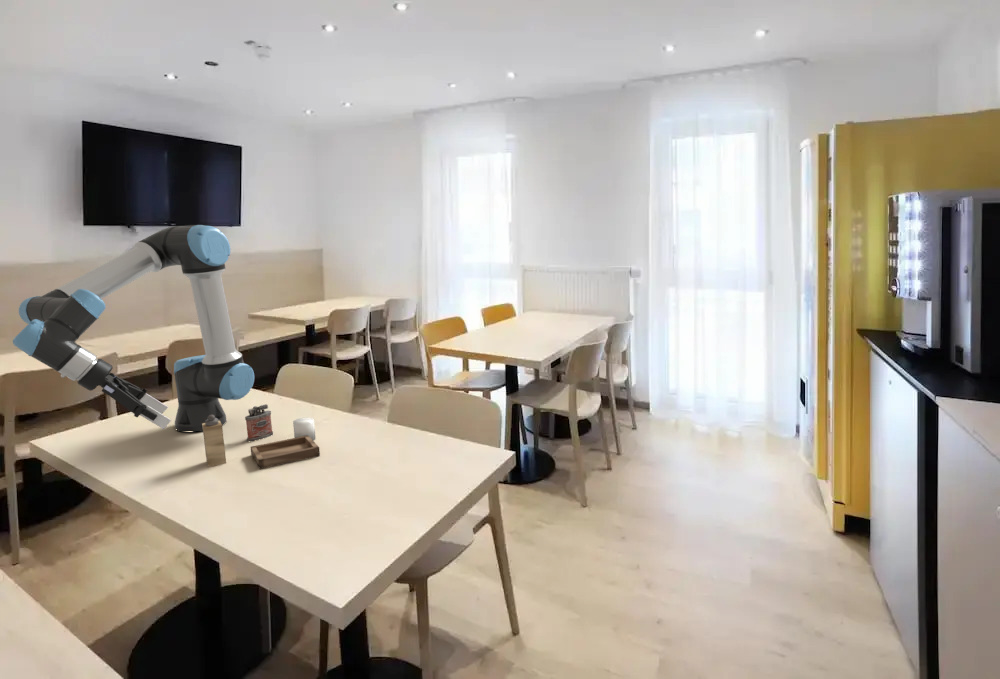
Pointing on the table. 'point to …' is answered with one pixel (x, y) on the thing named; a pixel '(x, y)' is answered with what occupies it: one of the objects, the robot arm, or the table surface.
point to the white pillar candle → (304, 427)
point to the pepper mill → (214, 441)
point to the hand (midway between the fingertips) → (166, 417)
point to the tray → (284, 451)
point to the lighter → (258, 423)
